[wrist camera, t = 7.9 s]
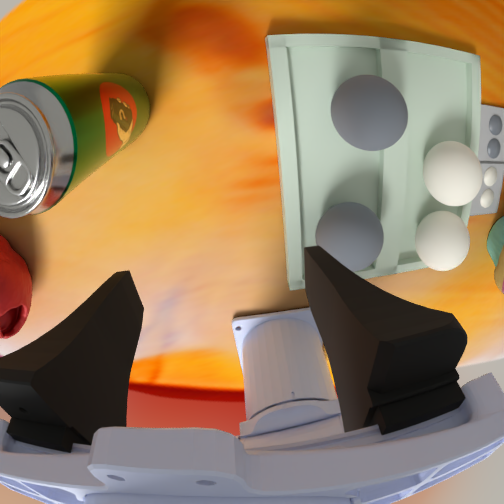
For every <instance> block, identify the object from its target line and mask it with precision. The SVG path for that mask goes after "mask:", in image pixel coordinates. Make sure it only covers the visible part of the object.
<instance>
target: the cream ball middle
mask: <svg viewBox="0 0 504 504" xmlns="http://www.w3.org/2000/svg"><path fill="white" fill-rule="evenodd" d="M423 179H424V182H425V185H426V187H427V189H428V191H429V192H430V194H431V195H432V196H433V197H434V198H435V199H436V200H438V201H439V202H441V203H443V204H445V205H448V206H462V205H465V204H467V203H469V202H470V201H472V200H473V199H474V198H475V197H476V195H477V194H478V192H479V190H480V188H481V185H482V179H483V174H482V167H481V164H480V162H479V159H478V158H477V156H476V155H475V153H474V152H473V151H472V150H471V149H470V148H469V147H467V146H466V145H464V144H462V143H459V142H456V141H444V142H441V143H439V144H437V145H435V146H434V147H433V148H432V149H431V150H430V151H429V152H428V153H427V155H426V157H425V160H424V163H423Z"/></svg>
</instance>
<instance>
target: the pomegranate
mask: <svg viewBox="0 0 504 504" xmlns="http://www.w3.org/2000/svg"><path fill="white" fill-rule="evenodd" d="M31 298H32V281H31V276H30V273H29V270H28V267H27V265H26V263H25V261H24V259H23V258H22V257H21V256H20V255H19V254H17V253H16V252H15V251H14V250H13V249H12V248H11V247H10V244H9V243H8V241H7V240H6V239H5V238H4V237H3V236H1V235H0V338H4V339H6V338H9V337H11V336H13V335H15V334H16V333H18V332H19V330H20V329H21V328H22V326H23V325H24V323H25V321H26V319H27V316H28V314H29V311H30V307H31Z"/></svg>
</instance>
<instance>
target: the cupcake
mask: <svg viewBox="0 0 504 504" xmlns="http://www.w3.org/2000/svg"><path fill="white" fill-rule="evenodd" d="M487 250H488V252H489V254H490V256H491V258H492V260H493V262H494V264H495V267H496V268H495V271H494V279H495V282H496V285H497V287H498V288H499V289H500V291H501V292H502V293H503V294H504V216H503V217H501V218H500V219H499V220H498V221H497V222H496V223H495V224H494V226H493V227H492V229H491V231H490V233H489V236H488V240H487Z"/></svg>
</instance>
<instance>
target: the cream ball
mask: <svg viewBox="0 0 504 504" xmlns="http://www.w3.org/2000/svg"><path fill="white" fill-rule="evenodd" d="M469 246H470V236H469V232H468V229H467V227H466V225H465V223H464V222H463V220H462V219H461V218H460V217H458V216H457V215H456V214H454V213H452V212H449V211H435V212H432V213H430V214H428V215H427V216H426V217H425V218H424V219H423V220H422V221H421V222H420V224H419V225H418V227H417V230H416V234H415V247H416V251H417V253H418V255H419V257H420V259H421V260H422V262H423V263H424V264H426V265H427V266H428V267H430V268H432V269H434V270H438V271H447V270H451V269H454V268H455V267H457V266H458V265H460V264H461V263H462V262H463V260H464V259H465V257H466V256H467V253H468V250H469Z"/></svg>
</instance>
